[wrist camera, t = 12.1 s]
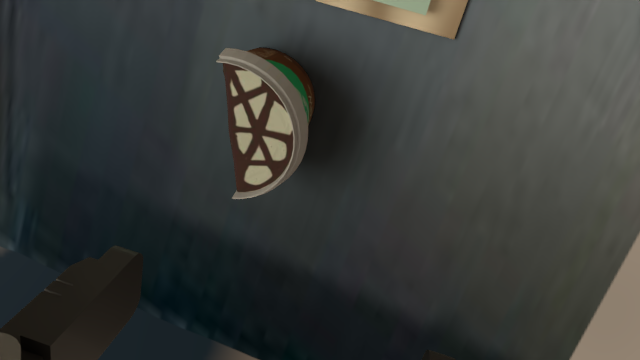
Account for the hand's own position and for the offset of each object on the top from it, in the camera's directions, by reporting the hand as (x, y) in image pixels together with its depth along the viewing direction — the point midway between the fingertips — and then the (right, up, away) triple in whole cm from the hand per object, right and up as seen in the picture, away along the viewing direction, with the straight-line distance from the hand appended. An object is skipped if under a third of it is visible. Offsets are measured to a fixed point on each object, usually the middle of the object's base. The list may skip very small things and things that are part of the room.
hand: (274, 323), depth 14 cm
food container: (-1, +12, +34) cm, 36 cm away
